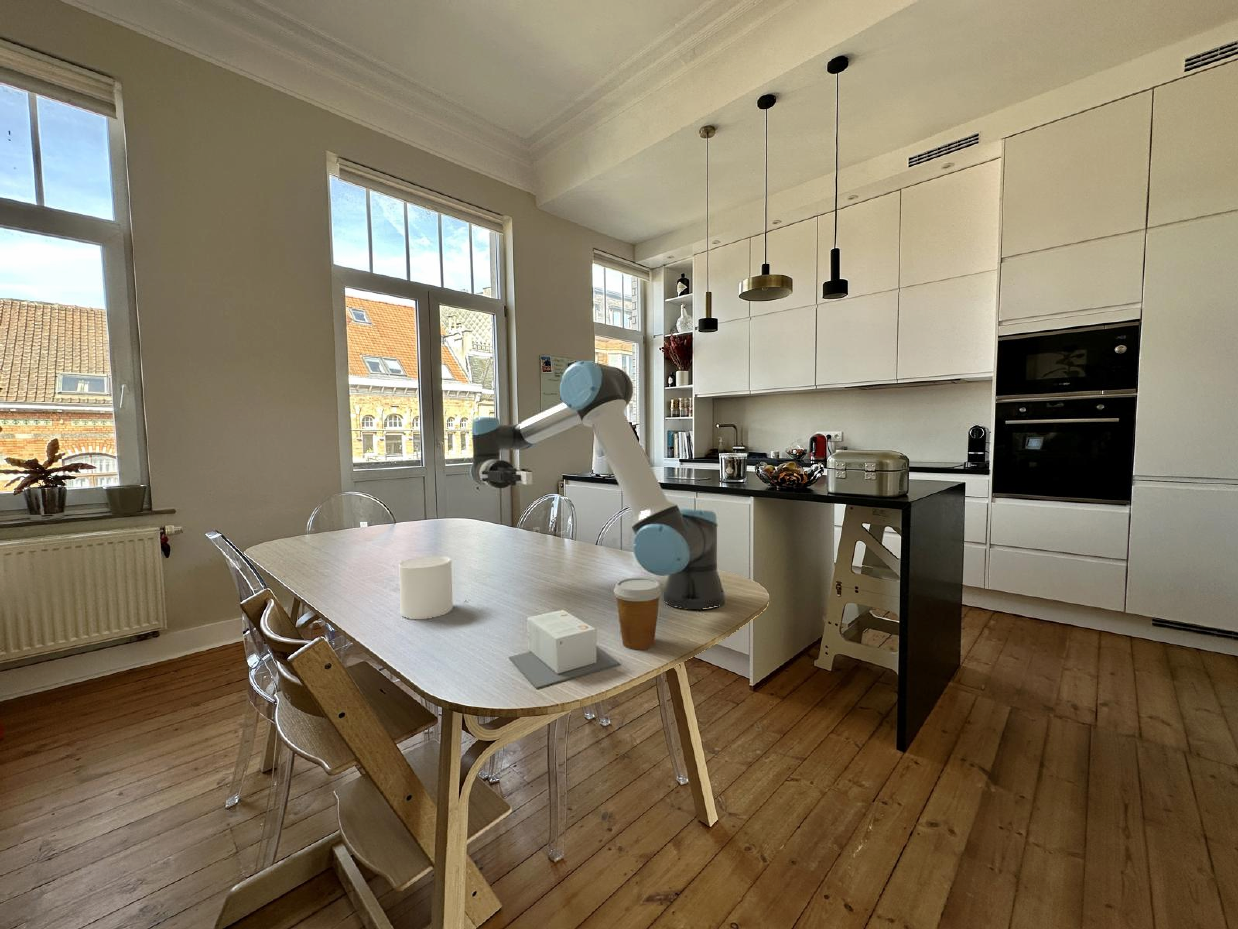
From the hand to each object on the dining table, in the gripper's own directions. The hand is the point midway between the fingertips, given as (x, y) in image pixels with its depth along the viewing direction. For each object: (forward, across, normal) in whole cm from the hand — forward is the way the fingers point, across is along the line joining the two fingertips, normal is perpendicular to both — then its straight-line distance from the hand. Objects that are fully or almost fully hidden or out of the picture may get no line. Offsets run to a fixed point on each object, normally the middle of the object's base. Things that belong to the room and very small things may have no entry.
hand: (529, 478), depth 112 cm
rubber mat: (+26, +4, -32) cm, 41 cm away
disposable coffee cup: (+26, -12, -32) cm, 43 cm away
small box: (+17, +4, -29) cm, 34 cm away
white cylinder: (-18, +20, -32) cm, 42 cm away
